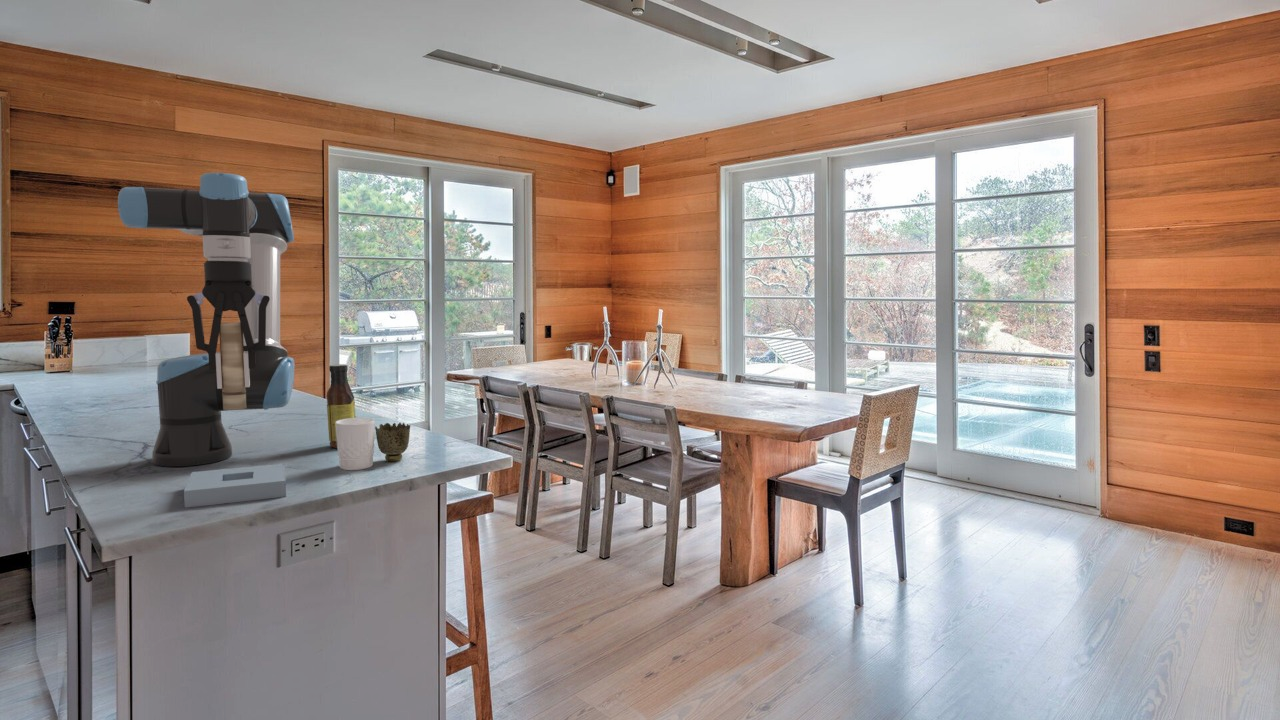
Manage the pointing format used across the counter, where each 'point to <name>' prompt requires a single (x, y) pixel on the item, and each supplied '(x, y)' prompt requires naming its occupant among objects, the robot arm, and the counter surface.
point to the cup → (393, 440)
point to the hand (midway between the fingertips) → (233, 386)
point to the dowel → (232, 366)
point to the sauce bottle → (339, 400)
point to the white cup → (355, 443)
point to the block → (235, 485)
